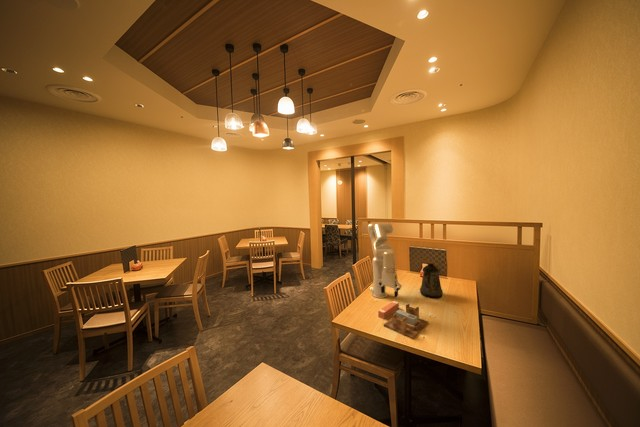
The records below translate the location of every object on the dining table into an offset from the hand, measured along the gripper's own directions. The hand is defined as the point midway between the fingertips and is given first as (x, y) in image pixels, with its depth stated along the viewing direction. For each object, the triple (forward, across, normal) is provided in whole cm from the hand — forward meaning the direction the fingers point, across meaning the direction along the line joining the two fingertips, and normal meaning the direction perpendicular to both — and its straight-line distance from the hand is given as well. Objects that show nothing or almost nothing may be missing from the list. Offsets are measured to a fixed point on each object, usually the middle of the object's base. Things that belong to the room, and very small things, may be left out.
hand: (389, 294), depth 150 cm
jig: (+13, -14, +5) cm, 20 cm away
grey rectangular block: (+12, -14, +5) cm, 19 cm away
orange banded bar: (+13, +1, -1) cm, 13 cm away
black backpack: (+12, -9, -49) cm, 51 cm away
